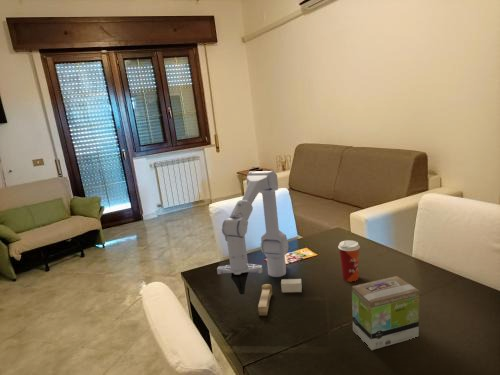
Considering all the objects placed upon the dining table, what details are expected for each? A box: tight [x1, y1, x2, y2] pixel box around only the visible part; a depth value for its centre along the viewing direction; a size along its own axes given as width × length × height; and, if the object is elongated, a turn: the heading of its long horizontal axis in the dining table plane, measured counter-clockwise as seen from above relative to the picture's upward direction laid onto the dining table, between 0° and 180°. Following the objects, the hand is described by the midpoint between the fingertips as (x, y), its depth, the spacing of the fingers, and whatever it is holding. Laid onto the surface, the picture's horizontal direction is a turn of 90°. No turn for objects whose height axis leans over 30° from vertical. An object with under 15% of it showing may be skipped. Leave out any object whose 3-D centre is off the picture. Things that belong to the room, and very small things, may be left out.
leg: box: [257, 283, 274, 316], centre depth 124 cm, size 15×4×3 cm, turn 171°
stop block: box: [280, 278, 303, 293], centre depth 131 cm, size 3×7×4 cm, turn 81°
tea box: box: [351, 275, 420, 351], centre depth 101 cm, size 15×10×15 cm
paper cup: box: [337, 240, 361, 283], centre depth 135 cm, size 8×8×14 cm
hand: (242, 292), depth 119 cm, fingers closed
